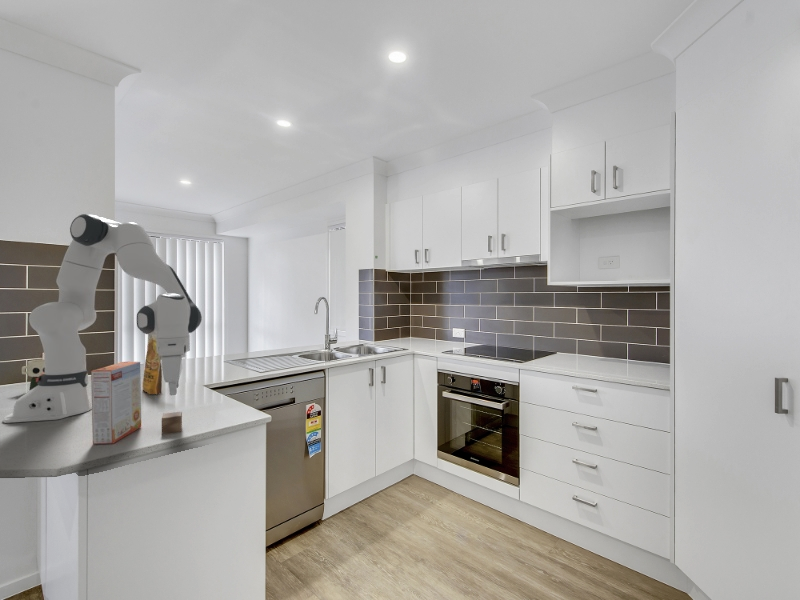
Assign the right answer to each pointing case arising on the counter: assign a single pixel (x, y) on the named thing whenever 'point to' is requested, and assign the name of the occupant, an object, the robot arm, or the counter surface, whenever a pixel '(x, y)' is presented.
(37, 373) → the character mug
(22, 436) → the counter surface
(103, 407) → the cracker box
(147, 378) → the pancake mix bag
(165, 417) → the walnut cube
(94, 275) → the robot arm
